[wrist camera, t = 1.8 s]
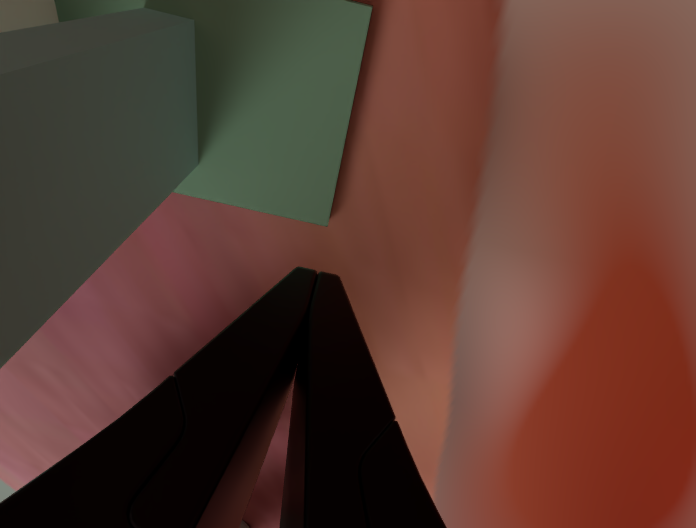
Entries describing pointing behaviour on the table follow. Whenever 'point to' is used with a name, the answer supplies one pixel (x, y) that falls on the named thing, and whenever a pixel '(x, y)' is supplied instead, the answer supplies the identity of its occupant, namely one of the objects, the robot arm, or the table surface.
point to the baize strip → (266, 96)
